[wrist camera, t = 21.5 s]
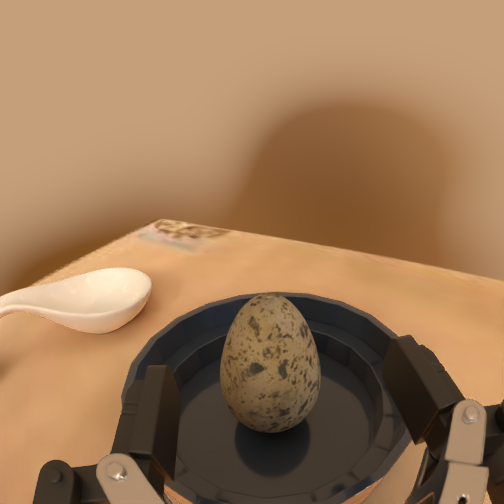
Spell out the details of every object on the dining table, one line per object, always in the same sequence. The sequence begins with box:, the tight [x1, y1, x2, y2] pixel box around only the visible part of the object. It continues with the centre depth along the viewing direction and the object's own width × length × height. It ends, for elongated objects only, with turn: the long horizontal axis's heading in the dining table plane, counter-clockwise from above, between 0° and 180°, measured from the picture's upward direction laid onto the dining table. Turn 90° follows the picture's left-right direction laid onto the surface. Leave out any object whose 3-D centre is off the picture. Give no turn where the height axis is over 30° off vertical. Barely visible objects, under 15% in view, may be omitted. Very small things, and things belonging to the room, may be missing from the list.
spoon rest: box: [0, 268, 152, 334], centre depth 25 cm, size 24×12×7 cm, turn 138°
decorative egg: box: [220, 293, 321, 433], centre depth 16 cm, size 6×6×10 cm
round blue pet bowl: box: [121, 292, 412, 504], centre depth 18 cm, size 18×18×5 cm
